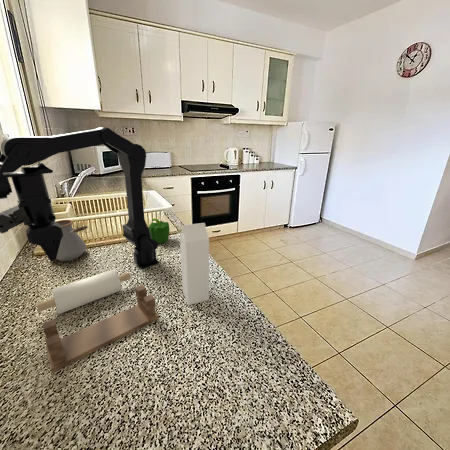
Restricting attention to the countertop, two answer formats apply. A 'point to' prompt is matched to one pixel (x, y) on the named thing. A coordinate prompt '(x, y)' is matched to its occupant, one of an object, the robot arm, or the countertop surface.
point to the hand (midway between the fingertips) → (50, 253)
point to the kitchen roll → (84, 291)
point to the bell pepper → (159, 231)
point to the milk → (195, 262)
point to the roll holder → (98, 332)
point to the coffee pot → (70, 241)
